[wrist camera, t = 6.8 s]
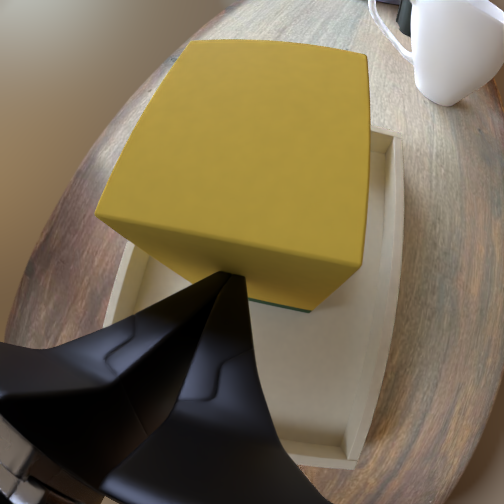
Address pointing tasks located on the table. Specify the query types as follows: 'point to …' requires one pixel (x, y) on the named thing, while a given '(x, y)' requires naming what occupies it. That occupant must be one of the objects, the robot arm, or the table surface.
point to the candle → (404, 17)
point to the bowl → (390, 1)
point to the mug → (451, 46)
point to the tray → (314, 329)
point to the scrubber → (251, 169)
